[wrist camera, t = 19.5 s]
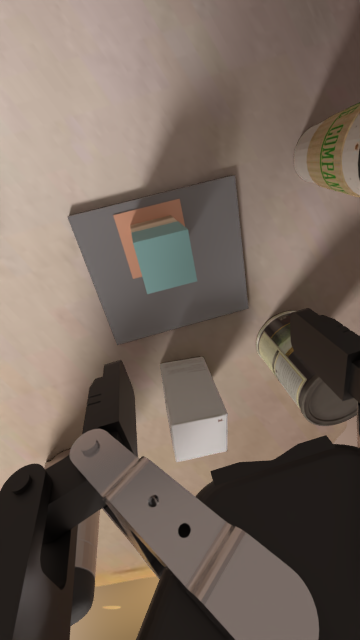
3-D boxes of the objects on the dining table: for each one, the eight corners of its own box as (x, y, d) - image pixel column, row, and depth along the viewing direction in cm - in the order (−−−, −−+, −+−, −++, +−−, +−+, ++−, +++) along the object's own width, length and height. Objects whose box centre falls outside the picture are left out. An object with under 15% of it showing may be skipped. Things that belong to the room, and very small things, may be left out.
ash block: (130, 225, 33) (131, 232, 29) (170, 215, 34) (177, 221, 29) (141, 265, 36) (143, 277, 31) (179, 255, 36) (186, 266, 32)
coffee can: (278, 300, 43) (340, 350, 31) (324, 322, 47) (396, 375, 35) (243, 353, 47) (286, 417, 34) (288, 370, 50) (342, 433, 38)
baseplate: (117, 341, 41) (117, 345, 40) (68, 215, 33) (67, 216, 32) (245, 305, 42) (248, 308, 41) (232, 175, 34) (235, 175, 33)
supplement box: (158, 362, 44) (170, 424, 33) (204, 355, 45) (230, 413, 34) (163, 397, 48) (175, 464, 37) (205, 389, 49) (228, 452, 38)
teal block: (144, 277, 31) (147, 294, 27) (131, 232, 29) (132, 242, 24) (186, 266, 32) (197, 281, 27) (178, 221, 29) (187, 229, 25)
